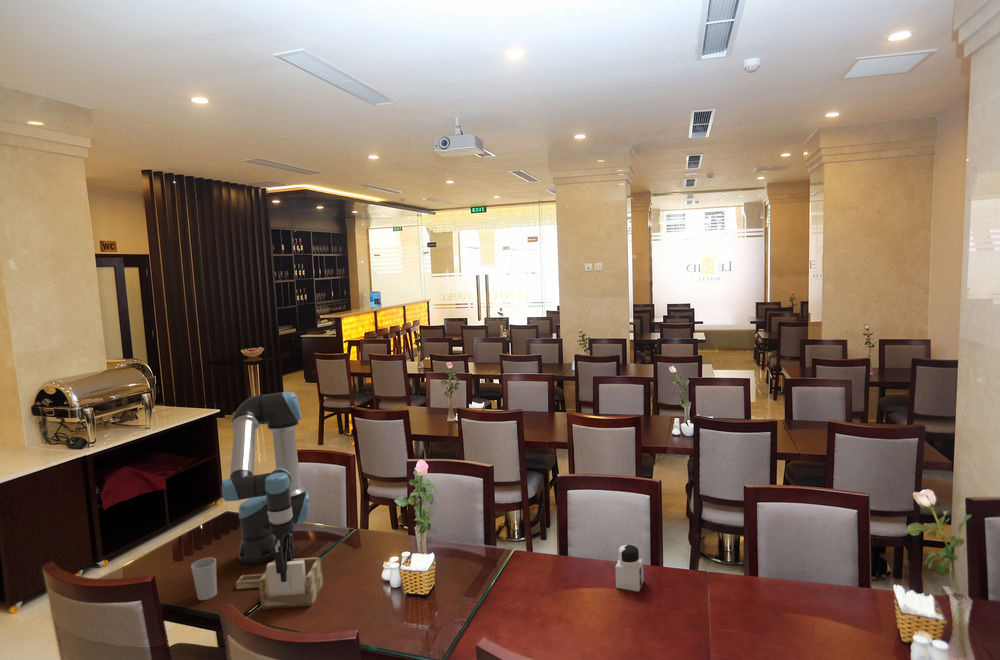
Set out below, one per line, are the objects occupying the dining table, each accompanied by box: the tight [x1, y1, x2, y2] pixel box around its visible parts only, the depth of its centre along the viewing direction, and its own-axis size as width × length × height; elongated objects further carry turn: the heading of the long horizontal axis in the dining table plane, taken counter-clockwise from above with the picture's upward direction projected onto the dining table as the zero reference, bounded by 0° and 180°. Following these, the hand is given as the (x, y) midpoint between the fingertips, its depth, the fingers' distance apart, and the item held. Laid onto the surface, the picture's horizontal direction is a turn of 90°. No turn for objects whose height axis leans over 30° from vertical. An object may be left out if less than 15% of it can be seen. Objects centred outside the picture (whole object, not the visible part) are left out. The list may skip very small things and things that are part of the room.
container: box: [615, 544, 644, 592], centre depth 198 cm, size 8×8×13 cm
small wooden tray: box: [235, 573, 264, 590], centre depth 214 cm, size 5×14×2 cm, turn 92°
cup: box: [190, 557, 218, 601], centre depth 208 cm, size 8×8×12 cm
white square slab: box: [265, 560, 307, 597], centre depth 200 cm, size 3×12×13 cm, turn 92°
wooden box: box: [258, 556, 324, 610], centre depth 204 cm, size 14×17×10 cm
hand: (287, 585), depth 200 cm, fingers open, 4 cm apart
